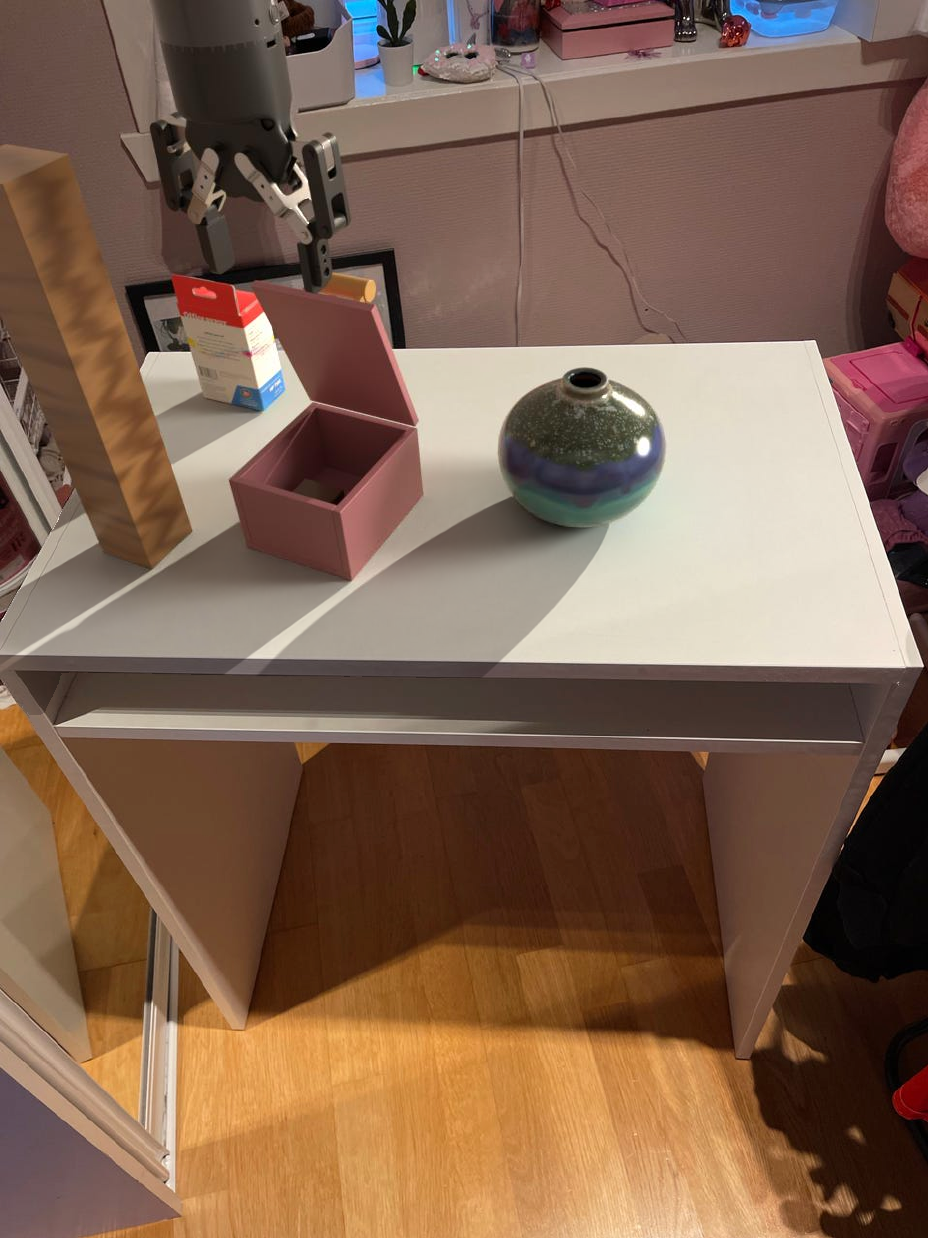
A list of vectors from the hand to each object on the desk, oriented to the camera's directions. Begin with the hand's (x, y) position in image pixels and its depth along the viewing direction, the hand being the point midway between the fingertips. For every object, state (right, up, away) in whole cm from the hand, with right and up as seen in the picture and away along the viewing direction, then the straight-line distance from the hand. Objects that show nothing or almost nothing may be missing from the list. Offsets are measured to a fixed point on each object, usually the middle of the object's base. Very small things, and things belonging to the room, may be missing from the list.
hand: (269, 279), depth 67 cm
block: (+1, -17, +17) cm, 25 cm away
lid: (+3, -3, +12) cm, 12 cm away
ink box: (-11, 0, +37) cm, 38 cm away
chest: (+2, -16, +20) cm, 25 cm away
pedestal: (-16, -18, +19) cm, 30 cm away
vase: (+26, -14, +21) cm, 36 cm away
